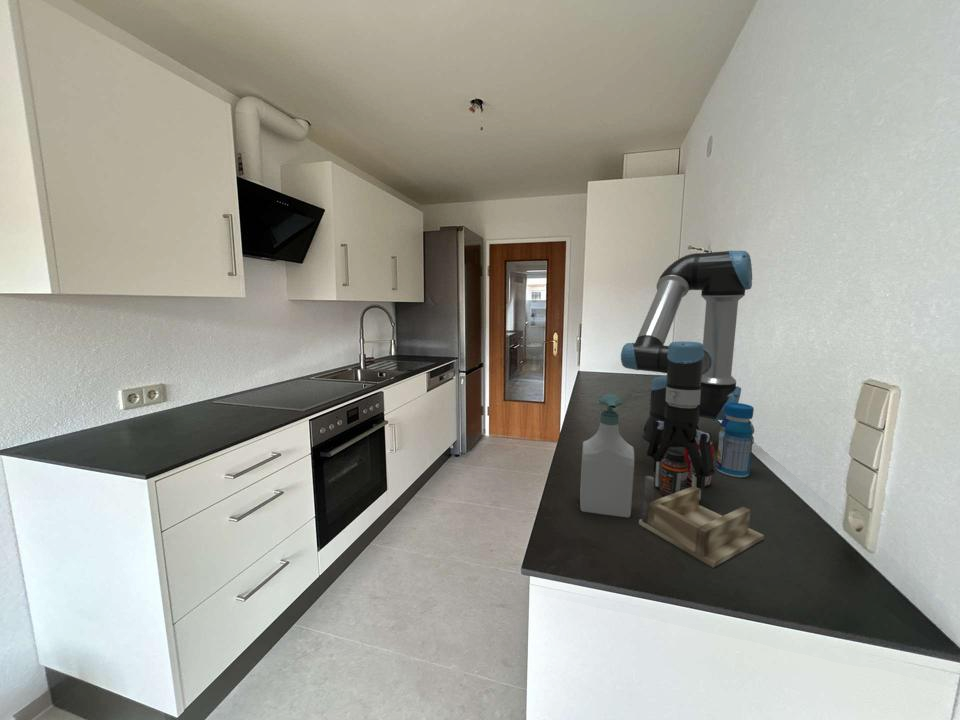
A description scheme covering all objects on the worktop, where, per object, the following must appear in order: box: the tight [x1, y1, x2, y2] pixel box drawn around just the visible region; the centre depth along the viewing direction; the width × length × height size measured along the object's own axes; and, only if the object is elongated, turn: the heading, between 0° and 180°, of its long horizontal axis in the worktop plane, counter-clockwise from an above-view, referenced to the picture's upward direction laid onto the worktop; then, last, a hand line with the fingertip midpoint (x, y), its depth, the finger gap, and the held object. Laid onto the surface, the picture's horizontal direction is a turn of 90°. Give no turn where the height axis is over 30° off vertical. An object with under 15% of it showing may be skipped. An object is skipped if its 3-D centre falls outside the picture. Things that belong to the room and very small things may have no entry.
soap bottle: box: [579, 393, 635, 518], centre depth 87 cm, size 11×8×27 cm
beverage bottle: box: [715, 402, 755, 478], centre depth 109 cm, size 8×8×20 cm
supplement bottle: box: [658, 449, 688, 497], centre depth 96 cm, size 6×6×11 cm
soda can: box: [683, 436, 715, 487], centre depth 103 cm, size 7×7×12 cm
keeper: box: [638, 475, 765, 569], centre depth 80 cm, size 18×16×11 cm
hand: (676, 492), depth 95 cm, fingers open, 9 cm apart
